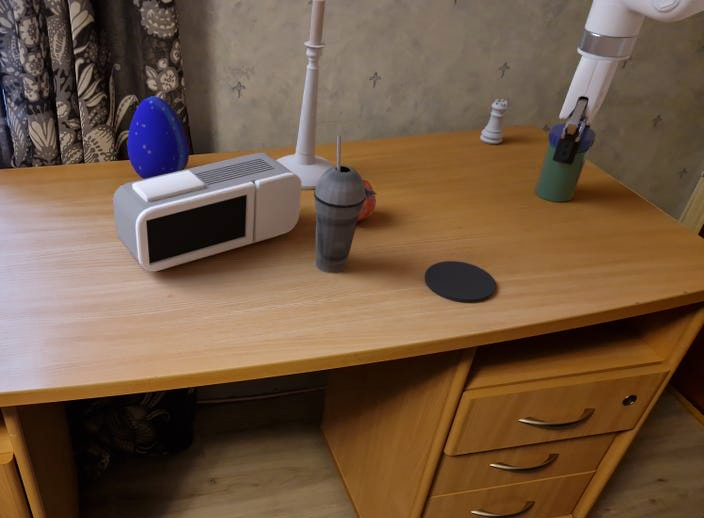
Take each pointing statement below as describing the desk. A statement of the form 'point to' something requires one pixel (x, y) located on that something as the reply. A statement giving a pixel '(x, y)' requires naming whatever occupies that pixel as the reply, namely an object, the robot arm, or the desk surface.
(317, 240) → the beverage cup
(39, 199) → the desk surface
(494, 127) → the rook chess piece
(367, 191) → the pomegranate
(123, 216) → the alarm clock
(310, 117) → the candlestick
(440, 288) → the coaster
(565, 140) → the robot arm
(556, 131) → the lid
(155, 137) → the ornament
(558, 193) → the jar
